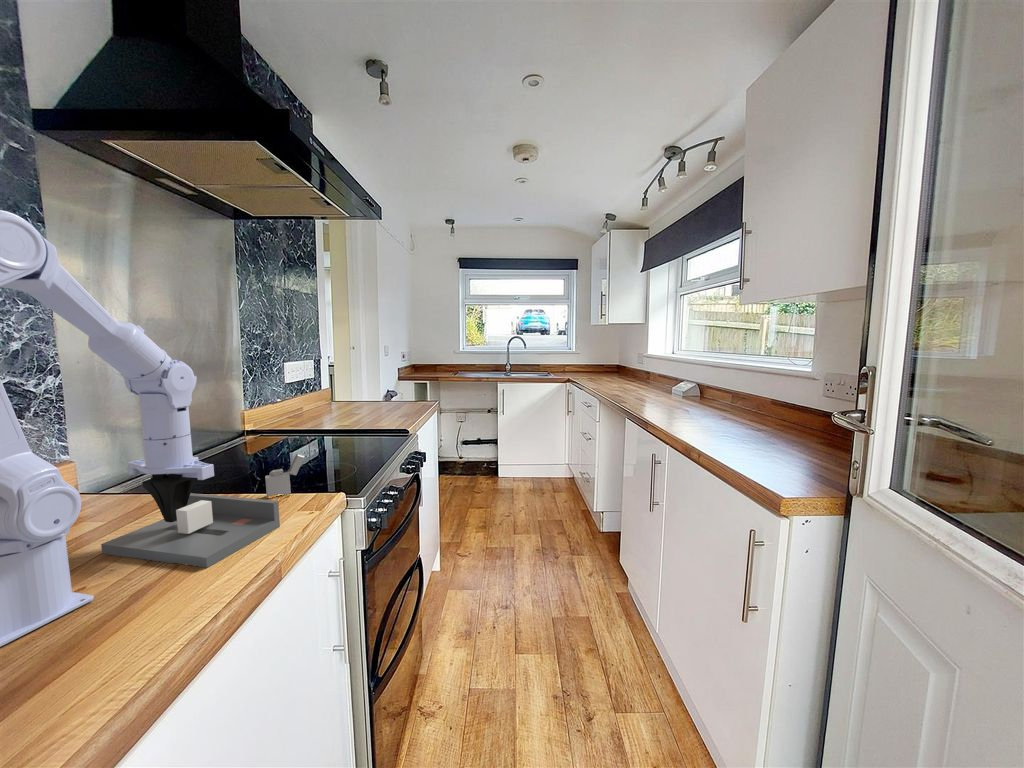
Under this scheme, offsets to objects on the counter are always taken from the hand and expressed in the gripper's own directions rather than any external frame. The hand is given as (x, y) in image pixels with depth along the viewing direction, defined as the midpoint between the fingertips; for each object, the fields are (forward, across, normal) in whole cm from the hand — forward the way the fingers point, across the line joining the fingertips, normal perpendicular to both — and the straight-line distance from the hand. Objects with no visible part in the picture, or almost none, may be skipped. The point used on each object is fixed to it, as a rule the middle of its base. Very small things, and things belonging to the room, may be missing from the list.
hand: (175, 519), depth 64 cm
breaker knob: (+1, -4, 0) cm, 4 cm away
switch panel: (+3, -4, 0) cm, 5 cm away
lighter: (+3, -3, -20) cm, 20 cm away
